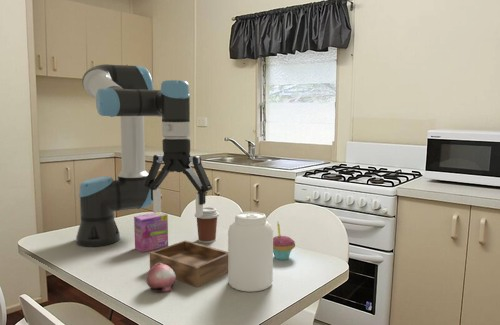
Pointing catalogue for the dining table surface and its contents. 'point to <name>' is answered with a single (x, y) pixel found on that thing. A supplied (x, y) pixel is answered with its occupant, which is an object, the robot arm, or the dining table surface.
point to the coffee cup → (207, 225)
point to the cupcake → (282, 246)
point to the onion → (161, 278)
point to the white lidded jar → (250, 252)
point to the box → (151, 231)
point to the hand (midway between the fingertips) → (178, 214)
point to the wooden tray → (192, 262)
